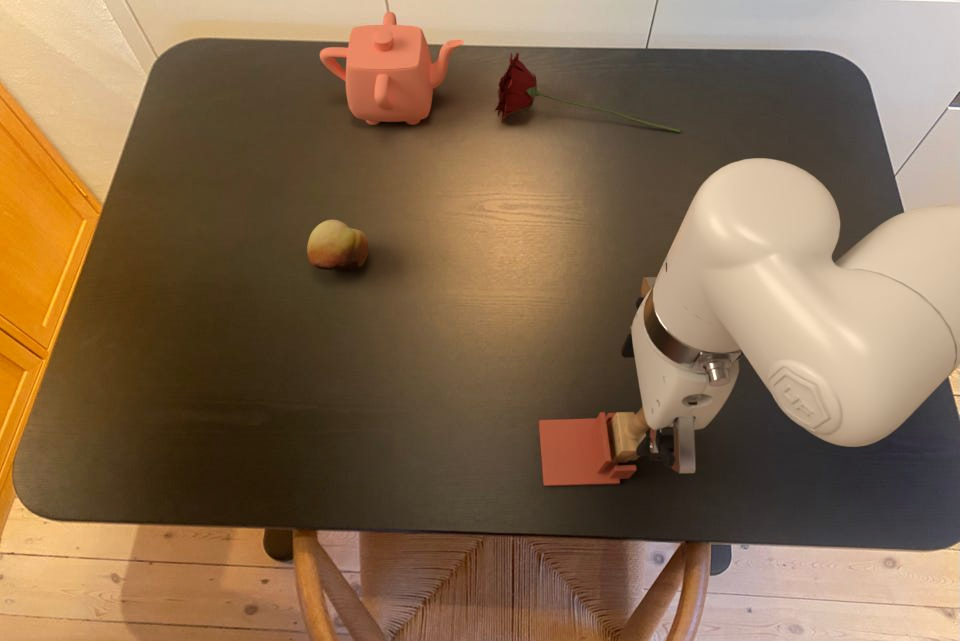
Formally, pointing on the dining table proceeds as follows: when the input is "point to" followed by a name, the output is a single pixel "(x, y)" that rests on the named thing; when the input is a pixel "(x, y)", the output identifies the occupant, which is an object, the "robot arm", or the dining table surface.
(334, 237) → the fruit
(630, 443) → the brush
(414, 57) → the teapot
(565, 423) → the brush stand
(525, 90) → the flower
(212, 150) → the dining table surface
